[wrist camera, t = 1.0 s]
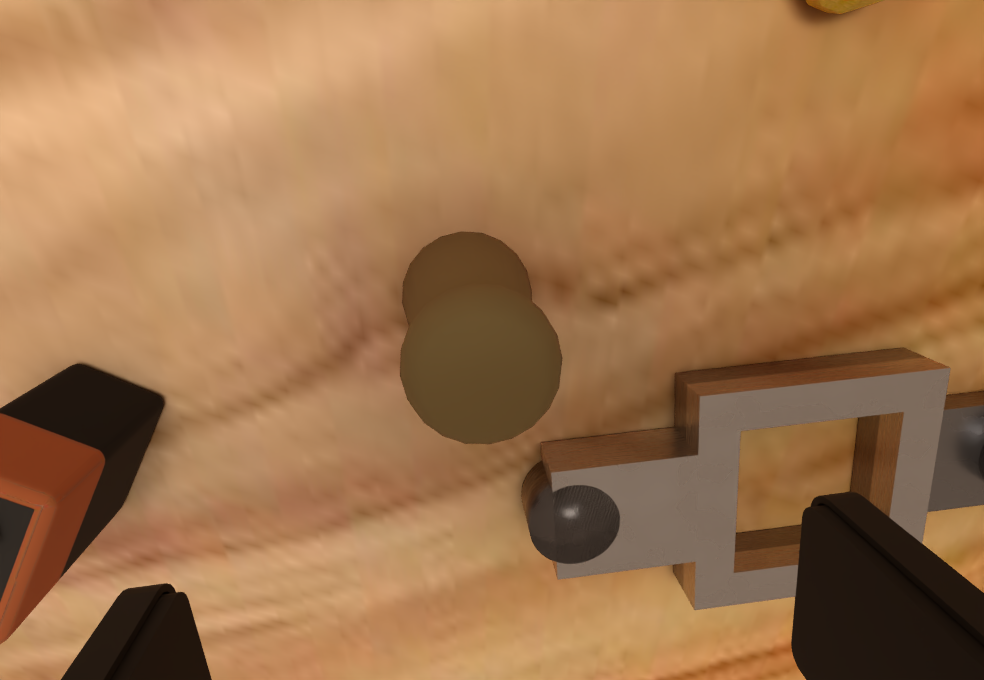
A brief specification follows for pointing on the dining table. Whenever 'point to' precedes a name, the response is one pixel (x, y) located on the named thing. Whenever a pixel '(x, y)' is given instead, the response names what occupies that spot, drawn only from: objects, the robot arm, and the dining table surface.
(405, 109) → the dining table surface
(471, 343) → the cork
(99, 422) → the battery
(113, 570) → the dining table surface
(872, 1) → the chocolate bunny
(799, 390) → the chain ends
